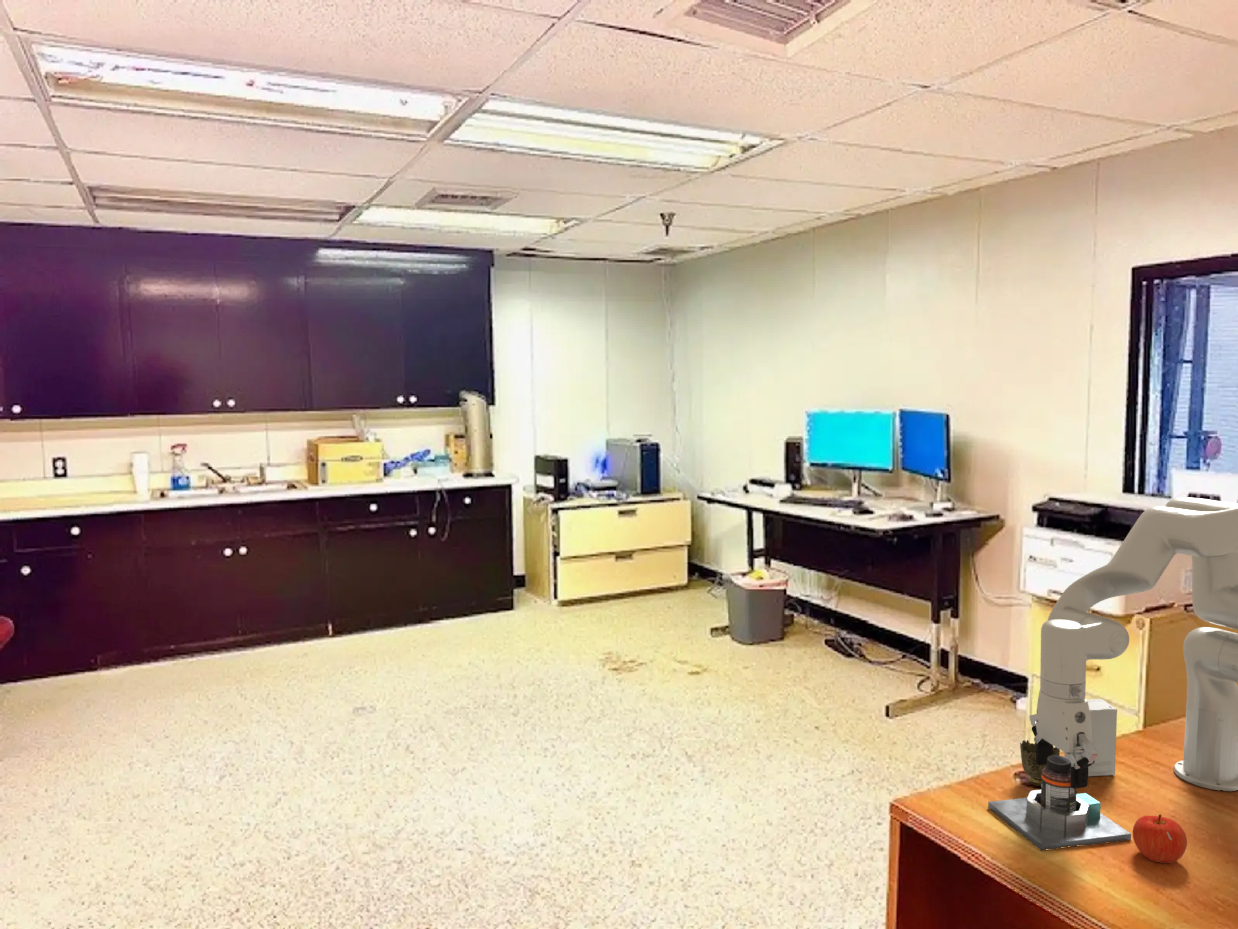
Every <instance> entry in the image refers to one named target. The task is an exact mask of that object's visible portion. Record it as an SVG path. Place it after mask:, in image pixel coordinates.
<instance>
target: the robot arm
mask: <svg viewBox="0 0 1238 929" xmlns="http://www.w3.org/2000/svg"><path fill="white" fill-rule="evenodd" d="M1177 554H1180V555H1186V556H1191V563H1192V564H1191V568H1192V573H1191V578H1192V579H1191V580H1192V581H1191V582H1192V587H1191V590H1192V591H1191V592H1192V596H1191V597H1192V599H1191V600H1192V609H1193V612H1194V614H1195V616H1196V617H1198V619H1200V620H1202V621H1204V622H1206V623H1210V624H1213V625H1217V626H1222V627H1225V628H1229V629H1233V630H1236V631H1237V630H1238V503H1237V502H1230V501H1229V502H1228V501H1222V500H1214V499H1208V498H1198V497H1186V496H1185V497H1182V496H1181V497H1176V498H1171V500H1169V501H1168V502H1167V503H1166V504H1165V505H1164V506H1153V507H1150V508H1148V509H1145V510H1144V511H1143V512H1141V514H1140V516H1139V517H1138V518H1137V520H1136V521H1135V523H1134V525H1133V526H1132V527H1131V529H1130V530H1129V532H1128V533H1127V535H1126V537H1125V538H1124V540H1123V541H1122V543H1121V544H1120V546H1119V548H1118V549H1117V551H1115V554H1114V555H1113V556H1112V558H1111V560H1110V561H1109V562H1108V563H1107V564H1105V565H1103V566H1101V567H1099V568H1096V569H1094V570H1092V571H1090V572H1088V573H1087V574H1085V575H1083V576H1082V577H1080V578H1078V579H1076V580H1075V581H1074V582H1072V583H1070V585H1068V587H1067V588H1065V590H1064V591H1063V592H1062V593H1061V595H1060V596H1059V598H1058V599H1057V601H1056V603H1055V604H1054V606H1053V607H1052V609H1051V610H1050V613H1049V615H1048V618H1047V621H1045V622H1043V624H1042V625H1041V627H1040V672H1039V673H1040V675H1039V676H1040V677H1039V682H1040V684H1039V687H1040V688H1039V693H1038V697H1037V704H1036V713H1035V714H1030V715H1029V721H1030V724H1031V726H1032V727H1031V731H1032V733H1033V736H1034V738H1033V741H1034V742H1033V743H1036V764H1038V765H1044V764H1047V758H1048V757H1049V756H1051V755H1053V746H1054V748H1055V747H1057V748H1058V749H1060V752H1063V753H1064V754H1065V753H1067V754H1069V757H1070V759H1071V761H1072V764H1073V767H1071V778H1070V786H1071V787H1072V788H1073V789H1076V788H1077V789H1083V788H1087V787H1089V776H1088V768H1089V767H1091V765H1092V764H1093V763H1094V762H1095V761H1094V760H1095V759H1096V757H1097V755H1098V752H1097V750H1096V749H1095V748H1094V746H1093V745H1092V728H1091V717H1090V710H1089V705H1088V701H1087V700H1088V699H1086V690H1087V689H1086V686H1087V684H1086V683H1087V661H1089V660H1091V661H1092V660H1111V659H1116V658H1118V657H1119V656H1122V654H1123V653H1125V652H1126V651H1127V650H1128V647H1129V644H1130V635H1129V632H1128V630H1127V629H1126V627H1125V626H1124V625H1123V624H1122V623H1120V622H1118V621H1116V620H1114V619H1112V618H1109V617H1105V616H1101V615H1097V614H1095V613H1092V612H1091V613H1090V612H1088V611H1089V610H1090V609H1091V608H1092V607H1093V606H1095V605H1096V604H1098V603H1100V602H1102V601H1105V600H1108V599H1111V598H1115V597H1122V596H1127V595H1128V596H1129V595H1133V594H1140V593H1144V592H1147V591H1150V590H1152V589H1153V588H1155V586H1156V584H1158V582H1159V580H1160V578H1162V575H1163V573H1164V572H1165V570H1166V569H1167V567H1168V566H1169V564H1171V563H1170V562H1171V561H1172V560H1173V558H1174V557H1175V555H1177ZM1182 650H1183V658H1184V664H1185V672H1186V704H1185V721H1184V723H1185V725H1184V744H1183V760H1179V761H1177V762H1176V763H1174V766H1173V767H1174V769H1173V770H1174V773H1175V774H1176V776H1177V777H1179V778H1180V779H1182V780H1184V781H1186V782H1187V783H1189V784H1192V785H1194V786H1198V787H1200V788H1204V789H1209V790H1215V791H1220V790H1223V792H1237V791H1236V790H1238V633H1237V632H1233V631H1229V630H1225V629H1221V628H1217V627H1211V626H1210V627H1209V626H1208V627H1207V626H1201V627H1197V628H1194V629H1192V630H1191V631H1190V632H1188V633H1187V635H1186V636H1185V638H1184V641H1183V646H1182ZM1075 747H1078V750H1073V748H1075ZM1076 754H1080V756H1081V758H1082V759H1080V760H1079V761H1078V759H1077V757H1076ZM1077 789H1076V790H1077Z"/></svg>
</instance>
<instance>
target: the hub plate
mask: <svg viewBox="0 0 1238 929" xmlns="http://www.w3.org/2000/svg"><path fill="white" fill-rule="evenodd" d="M1101 804H1102V803H1101V802H1100V801H1098V800H1097V799H1095V798H1094V797H1093V796H1091V795H1089V794H1088V793H1086V792H1083V793H1076V811H1073V812H1059V811H1055V810H1051V809H1047V808H1044V807H1043V806H1042V805H1041V789H1035V790H1030V792H1029V793H1028V796H1027V797H1020V798H1013V799H1011V798H1010V799H1002V800H994V801H993V800H992V801H988V809H989V808H990V809H989V810H990V811H992V812H993V813H994V814H996V815H997V816H998V817H999V818H1001V819H1002V821H1004V822H1005V821H1006V822H1005V823H1007V824H1008V825H1009V826H1011V827H1012V828H1013V829H1014V830H1015V829H1016V830H1015V831H1017V832H1018V833H1019V834H1020V835H1021V834H1022V836H1023V837H1024V838H1025V837H1026V838H1027V839H1026V838H1025V839H1026V840H1028V841H1029V842H1030V843H1031V842H1032V843H1031V844H1032V845H1033V846H1035V845H1036V846H1037V847H1038V848H1037V847H1036V846H1035V847H1036V848H1037V849H1039V851H1041V850H1044V851H1047V850H1046V849H1053V850H1057V849H1056V848H1061V847H1068V846H1077V845H1086V846H1093V845H1092V844H1094V845H1100V844H1099V843H1102V844H1107V843H1106V842H1111V843H1118V842H1117V841H1119V842H1124V841H1125V840H1127V841H1132V833H1131V832H1129V831H1128V830H1127V829H1125V828H1123V827H1122V826H1121V825H1119V824H1117V823H1116V822H1114V821H1113V820H1112V819H1110V818H1109V817H1107V816H1106V815H1104V814H1103V813H1101V806H1102V805H1101ZM1125 842H1126V841H1125ZM1061 849H1062V848H1061Z"/></svg>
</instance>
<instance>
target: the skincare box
mask: <svg viewBox="0 0 1238 929" xmlns="http://www.w3.org/2000/svg"><path fill="white" fill-rule="evenodd" d="M1086 700H1087V701H1088V705H1089V710H1090V717H1091V728H1092V745H1093V746H1094V748H1095V749H1096V750H1097V752H1098V755H1097V757H1096V759H1095V760H1094V761H1095V762H1094V763H1093V764H1092V765H1091V767H1089V768H1088V777H1099V776H1101V777H1102V776H1115V775H1116V755H1117V754H1116V750H1117V749H1116V748H1117V727H1118V726H1117V724H1118V723H1117V721H1118V718H1117V716H1118V715H1117V714H1118V709H1117V708H1116V707H1115V706H1113V705H1111V704H1110V703H1108V702H1107V701H1105V700H1104V699H1102V698H1095V699H1094V698H1093V699H1086ZM1073 750H1078V747H1075V748H1073ZM1063 757H1066V758H1068V759H1069V760H1070V761H1071V759H1070V757H1069V754H1067V753H1065V752H1064V755H1063ZM1076 757H1077V759H1078V761H1079V760H1080V759H1082V758H1081V756H1080V754H1076ZM1071 767H1073V764H1072V761H1071Z"/></svg>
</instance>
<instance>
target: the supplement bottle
mask: <svg viewBox="0 0 1238 929" xmlns="http://www.w3.org/2000/svg"><path fill="white" fill-rule="evenodd" d="M1070 778H1071V761H1070V760H1069V759H1068V758H1066V757H1064V755H1059V756H1058V755H1051V756H1049V757H1048V758H1047V766H1045V767H1044V768H1043V769H1042V772H1041V786H1040V790H1041V805H1042V806H1043V807H1044V808H1047V809H1051V810H1055V811H1059V812H1073V811H1076V794H1077V789H1078V788H1076V789H1073V788H1072V787H1071V786H1070Z"/></svg>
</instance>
